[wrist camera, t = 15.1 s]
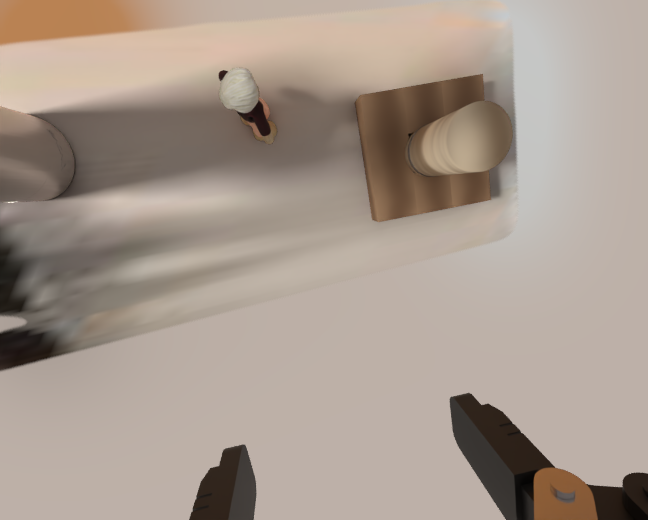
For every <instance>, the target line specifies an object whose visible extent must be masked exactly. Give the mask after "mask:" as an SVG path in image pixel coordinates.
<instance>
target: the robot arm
mask: <svg viewBox="0 0 648 520" xmlns="http://www.w3.org/2000/svg"><path fill="white" fill-rule="evenodd" d="M74 170H75V163H74V156H73V152H72V150H71V147H70V145H69V143H68V142H67V140H66V139H65V137H64V136H63V134H62V133H60V132H59V131H58V130H57V129H56V128H55V127H54V126H53V125H51V124H50V123H48V122H47V121H45V120H42V119H40V118H38V117H35V116H32V115H28V114H25V113H21V112H18V111H14V110H11V109H7V108H4V107H1V106H0V203H3V202H30V201H44V200H49V199H52V198H54V197H57V196H58V195H60V194H61V193H62V192H64V191H65V190H66V188H67V187H68V186H69V185H70V183H71V180H72V178H73V175H74ZM450 408H451V418H452V426H453V433H454V437H455V440H456V442H457V444H458V446H459V448H460V450H461V451H462V453H463V454H464V456H465V457H466V459H467V461H468V462H469V464H470V465H471V467H472V468H473V470H474V471H475V473H476V474H477V476H478V477H479V479H480V480H481V482H482V483H483V485H484V487H485V488H486V489H487V491H488V493H489V494H490V496H491V497H492V499H493V500H494V502H495V503H496V505H497V507H498V508H499V510H500V511H501V513H502V514H503V515H504V517H505V519H506V520H648V474H646V473H631V474H629V475H627V476H625V477H624V479H623V488H622V487H607V486H594V485H588V484H585V482H584V481H582V480H581V479H580V478H579V477H577V476H575V475H574V474H572V473H570V472H568V471H565V470H562V469H558V468H555V467H554V466H553V465H552V464H551V463H550V461H549V460H548V459H547V458H546V457H545V456H544V455H543V454H542V453H541V452H540V451H539V450H538V449H537V448H536V447H535V446H534V445H533V444H532V443H531V441H530V440H529V439H528V438H527V437H526V436H525V435H524V434H523V433H521V432H520V430H519V429H518V428H517V427H516V426H515V425H514V424H512V422H511V421H510V419H509V418H508V417H507V416H506V415H505V414H504V413H503V412H502V411H500V410H498V409H497V408H495V407H493V406H491V405H490V404H485V405H481V404H480V403H479V402H478V401H477V400H476V399H475V398H474V396H473V395H472V394H470V393H467V394H462V395H458V396H454V397H451V398H450ZM255 501H256V481H255V476H254V473H253V469H252V466H251V462H250V459H249V455H248V451H247V448H246V446H245V445H239V446H235V447H231V448H226V449H224V451H223V453H222V457H221V461H220V465H219V466H218V467H213V468H210V470H209V471H208V473H207V474H206V475H205V477H204V478H203V480H202V481H201V483H200V487H199V490H198V493H197V499H196V500H195V503H194V506H193V512H192V513H191V516H190V519H189V520H253V519H254V510H255Z"/></svg>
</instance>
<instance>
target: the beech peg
mask: <svg viewBox="0 0 648 520" xmlns="http://www.w3.org/2000/svg"><path fill="white" fill-rule="evenodd" d="M512 136H513V130H512V124H511V121H510V118H509V116H508V114H507V113H506V112H505V110H504V109H503V108H502V107H500V106H499V105H497V104H495V103H493V102H489V101H478V102H474V103H471V104H469V105H467V106H465V107H463V108H461V109H459V110H457V111H454V112H452V113H450V114H448V115H446V116H444V117H442V118H440V119H438V120H436V121H434V122H432V123H429V124H427V125H424V126H422V127H421V128H419V129H417V130H416V131H415V132H414V133H413V134H412V135H411V136H410V138H409V139H408V141H407V144H406V148H405V158H406V162H407V164H408V166H409V168H410V169H411V170H412V171H413V172H414V173H416V174H417V175H420V176H424V177H436V176H442V175H452V174H463V173H473V172H483V171H487V170H489V169H492V168H493V167H495V166H496V165H498V164H499V163H500V162H501V161H502V160H503V159H504V157H505V156H506V154H507V153H508V151H509V149H510V146H511V142H512Z"/></svg>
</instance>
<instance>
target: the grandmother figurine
mask: <svg viewBox="0 0 648 520" xmlns="http://www.w3.org/2000/svg"><path fill="white" fill-rule="evenodd" d="M219 79H220V81H221V84H220V89H219V98H220V100H221V101H222V103H223V105H224V106H225V107H226V108H227V109H235V110H236V111H237V113H238V114H239V115H240V118H241V120H242V122H243V123H244V124H246V125H251V126H252V128H253V134H254V136H255V138H256V139H257V140H259V141H262V140H264V142H265V143H266V144H272V143H273V141H274V137H275V136H276V134H277V128H276V126H275V124H274V123H273V122H272V121H267V119H268V117H269V114H270V110H269V107H268V105H267V104H266V102H265V101H264V100H262V99H261V98H259V88H258V86H257V84H256V83H255V80H254V79H253V76H252V74H251V73H250V71H249V70H247V69H245V68H233V69H231V70H230V71H229V72H228V71H225V70H223V71H220V73H219Z"/></svg>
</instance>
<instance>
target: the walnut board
mask: <svg viewBox="0 0 648 520" xmlns="http://www.w3.org/2000/svg"><path fill="white" fill-rule="evenodd" d="M478 101H484V87H483V74H480V75H474V76H469V77H463V78H457V79H451V80H446V81H440V82H434V83H428V84H423V85H417V86H411V87H405V88H399V89H394V90H388V91H382V92H376V93H371V94H365V95H360V96H359V98H358V99H357V100H356V102H355V106H356V113H357V120H358V127H359V133H360V140H361V147H362V153H363V160H364V167H365V174H366V180H367V187H368V194H369V201H370V207H371V214H372V220H374V221H377V222H381V221H386V220H391V219H396V218H401V217H406V216H412V215H417V214H422V213H427V212H432V211H437V210H442V209H447V208H452V207H457V206H462V205H467V204H472V203H478V202H483V201H488V200H491V197H490V182H489V170H487V171H483V172H473V173H463V174H452V175H442V176H436V177H424V176H420V175H417V174H416V173H413V171H412V170H411V169H410V168H409V166H408V164H407V162H406V158H405V148H406V144H407V141H408V139H409V137H408V136H411V135H412V134H413V133H414V132H415V131H416V130H417V129H419V128H421V127H422V126H424V125H427V124H429V123H432V122H434V121H436V120H438V119H440V118H442V117H444V116H446V115H448V114H450V113H452V112H454V111H457V110H459V109H461V108H463V107H465V106H467V105H469V104H471V103H474V102H478Z"/></svg>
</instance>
